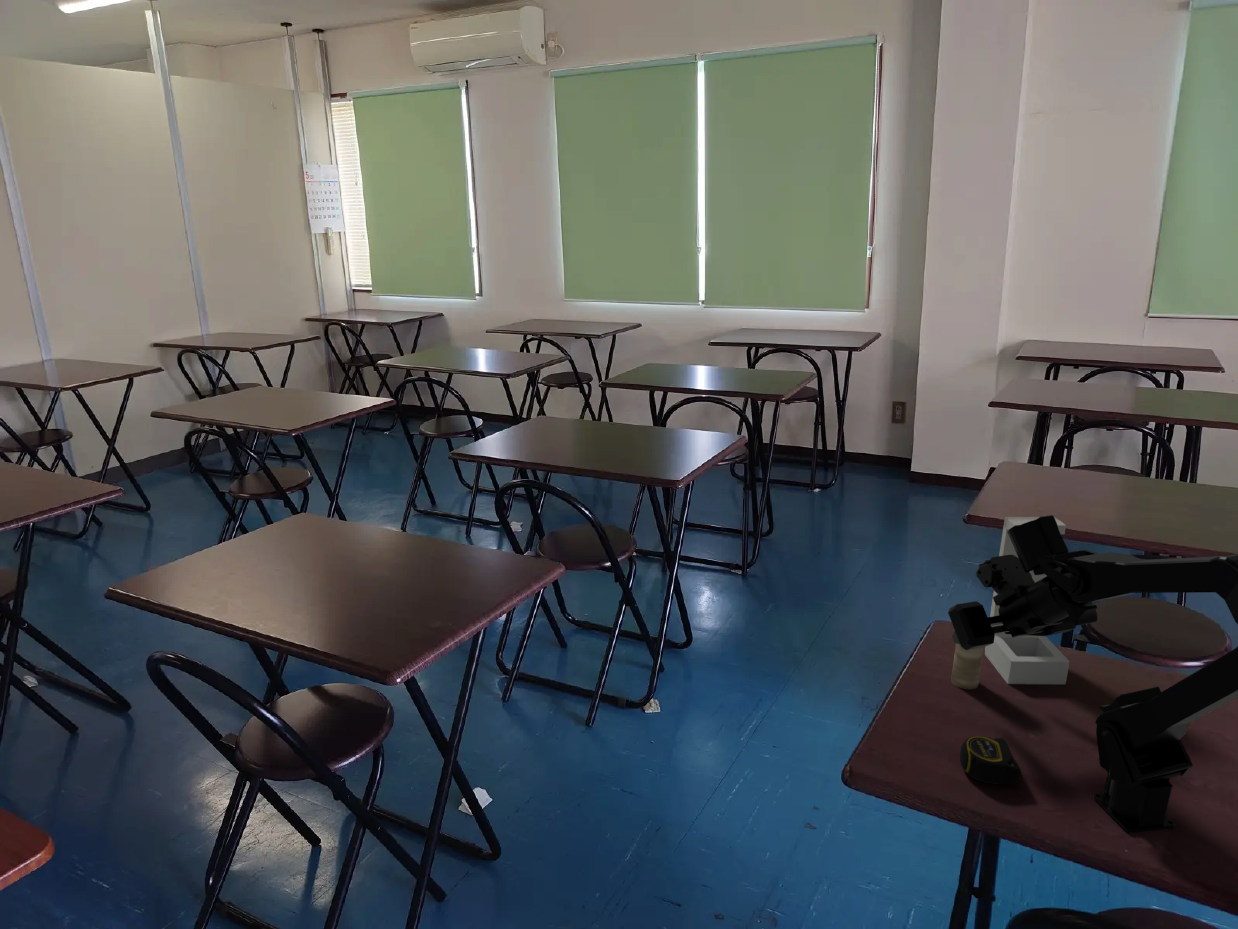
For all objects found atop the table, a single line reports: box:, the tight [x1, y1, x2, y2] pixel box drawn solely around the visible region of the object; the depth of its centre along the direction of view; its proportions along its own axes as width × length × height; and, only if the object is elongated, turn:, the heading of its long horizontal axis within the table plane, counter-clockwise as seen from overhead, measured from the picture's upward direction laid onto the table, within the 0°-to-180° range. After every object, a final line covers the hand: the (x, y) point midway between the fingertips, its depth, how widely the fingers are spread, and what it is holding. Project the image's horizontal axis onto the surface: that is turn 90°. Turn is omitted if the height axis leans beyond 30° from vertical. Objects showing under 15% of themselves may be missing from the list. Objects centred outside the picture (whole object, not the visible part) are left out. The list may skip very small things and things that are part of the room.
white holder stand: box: [984, 516, 1070, 685], centre depth 135 cm, size 10×9×24 cm
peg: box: [950, 643, 985, 690], centre depth 132 cm, size 4×4×11 cm
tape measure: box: [958, 735, 1022, 785], centre depth 113 cm, size 7×7×4 cm
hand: (979, 635), depth 130 cm, fingers open, 9 cm apart
